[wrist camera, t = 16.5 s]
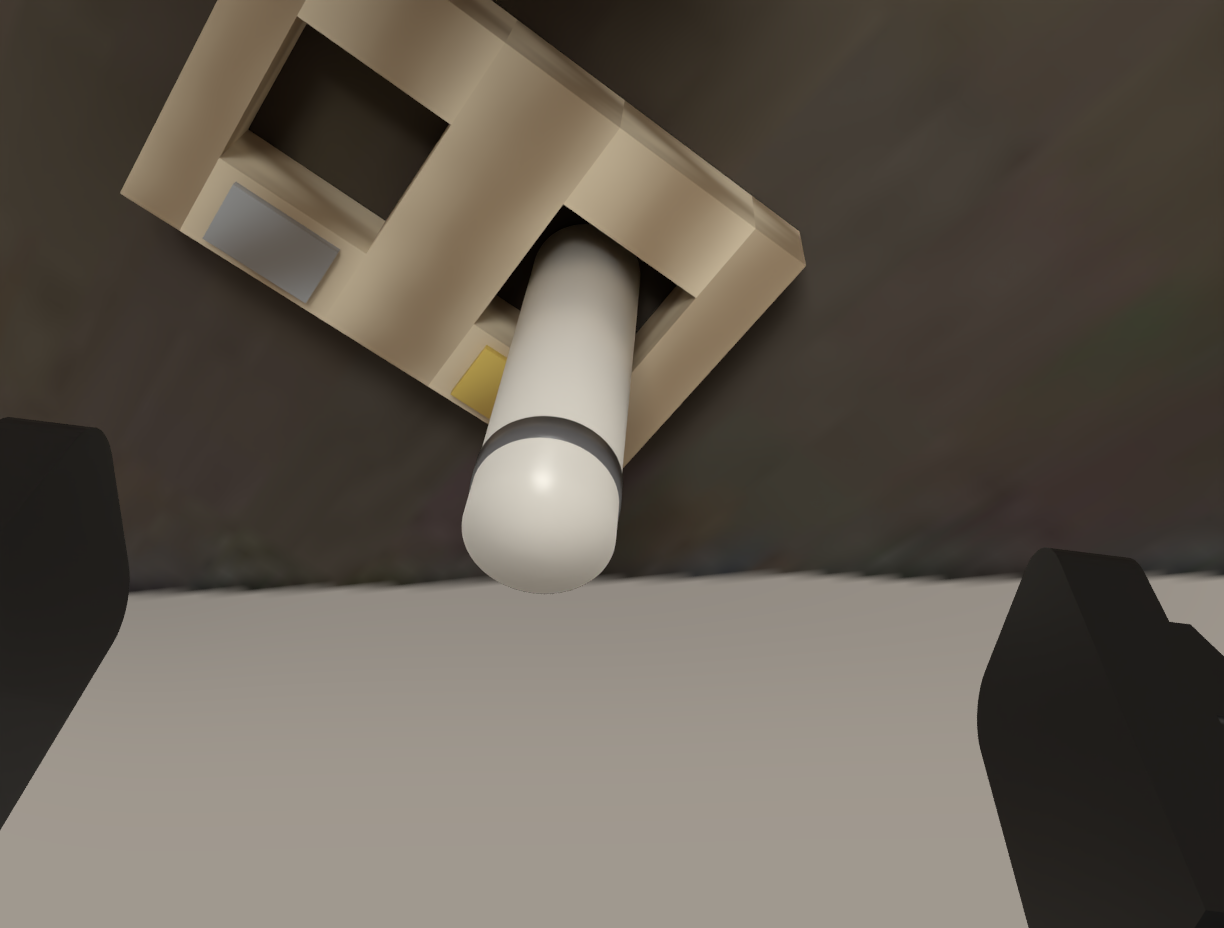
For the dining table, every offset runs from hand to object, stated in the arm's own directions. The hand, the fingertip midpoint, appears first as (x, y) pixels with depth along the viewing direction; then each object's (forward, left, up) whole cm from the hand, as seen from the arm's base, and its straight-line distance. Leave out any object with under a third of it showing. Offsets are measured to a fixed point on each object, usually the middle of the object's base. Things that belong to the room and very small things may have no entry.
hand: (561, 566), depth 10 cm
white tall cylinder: (+5, -11, -32) cm, 34 cm away
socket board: (0, -11, -32) cm, 34 cm away
